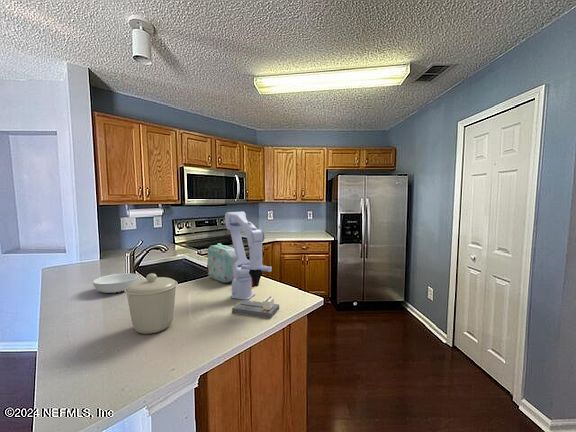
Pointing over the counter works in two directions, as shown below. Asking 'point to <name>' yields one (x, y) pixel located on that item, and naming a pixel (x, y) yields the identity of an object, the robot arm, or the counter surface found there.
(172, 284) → the canister
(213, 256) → the lunch box
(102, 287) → the serving bowl
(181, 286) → the counter surface
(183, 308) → the counter surface
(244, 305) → the fader console
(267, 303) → the fader knob
